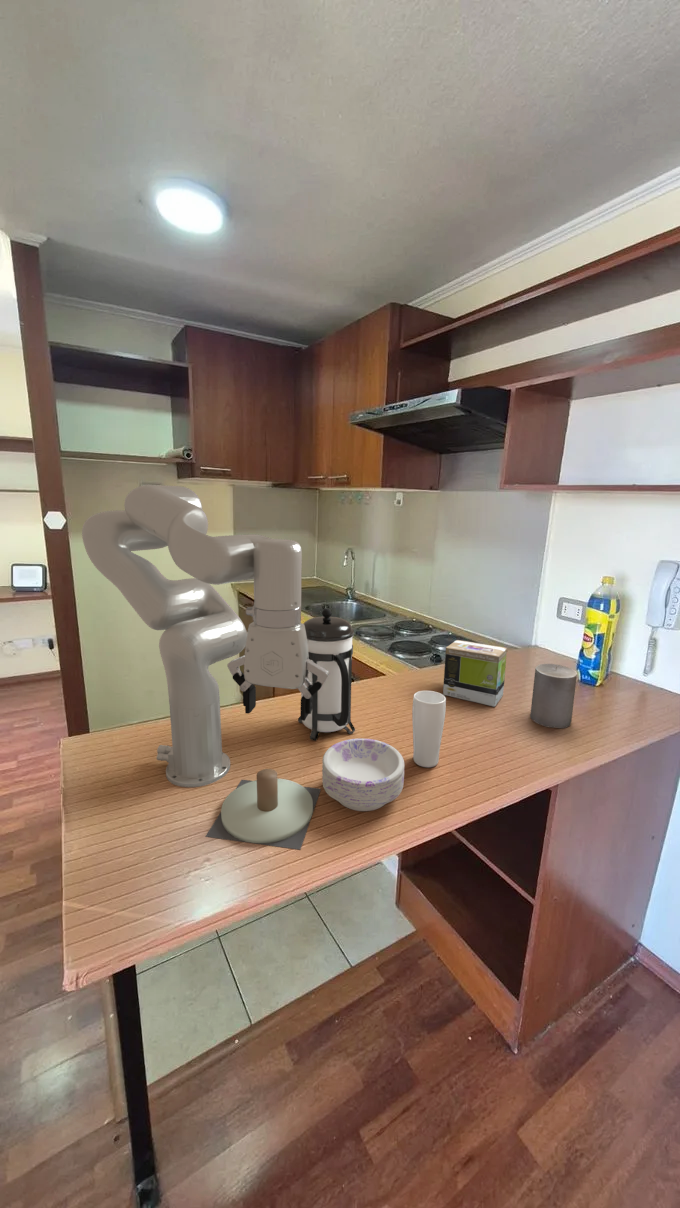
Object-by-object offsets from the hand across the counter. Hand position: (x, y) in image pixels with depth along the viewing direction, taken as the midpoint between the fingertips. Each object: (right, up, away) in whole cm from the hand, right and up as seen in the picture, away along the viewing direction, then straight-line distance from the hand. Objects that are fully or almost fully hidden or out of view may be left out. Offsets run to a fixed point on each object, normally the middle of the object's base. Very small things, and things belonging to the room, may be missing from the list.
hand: (277, 713), depth 78 cm
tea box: (+49, -8, +55) cm, 74 cm away
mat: (-2, -18, +4) cm, 19 cm away
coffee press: (+8, -12, +34) cm, 37 cm away
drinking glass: (+29, -15, +20) cm, 39 cm away
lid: (-2, -18, +3) cm, 19 cm away
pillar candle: (+65, -12, +40) cm, 77 cm away
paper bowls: (+15, -18, +9) cm, 25 cm away
